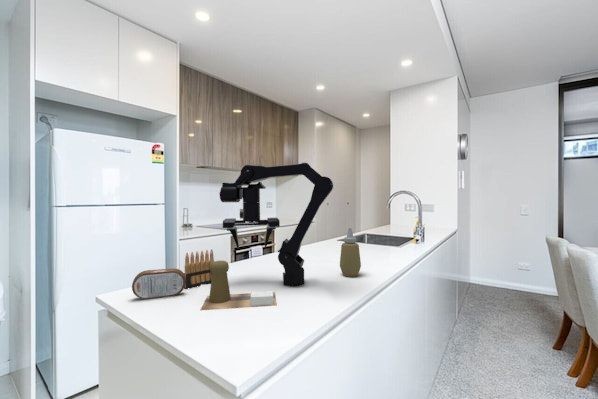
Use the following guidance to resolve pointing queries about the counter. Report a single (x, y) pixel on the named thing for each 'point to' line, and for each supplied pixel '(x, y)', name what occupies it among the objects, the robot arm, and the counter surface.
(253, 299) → the white rectangular prism
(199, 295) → the counter surface
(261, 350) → the counter surface
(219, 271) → the cork
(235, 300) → the oak plank
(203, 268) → the ammunition clip
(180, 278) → the tin
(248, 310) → the counter surface
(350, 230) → the squeeze bottle
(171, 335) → the counter surface
